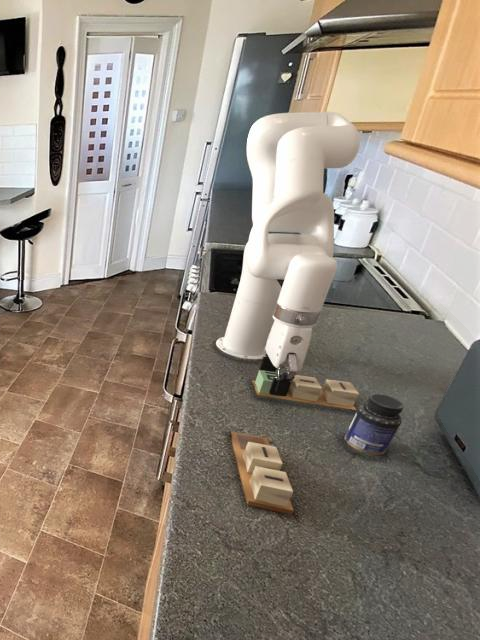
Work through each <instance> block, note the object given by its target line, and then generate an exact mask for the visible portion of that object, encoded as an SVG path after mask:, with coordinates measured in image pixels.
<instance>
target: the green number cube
mask: <svg viewBox="0 0 480 640" xmlns="http://www.w3.org/2000/svg"><path fill="white" fill-rule="evenodd" d="M281 374H283V372H281ZM273 378H276V372H270V371H263V370H259V369H258V373H257V376H256V378H255V383H256V386H257V389H258V391H259V393H264V394H269V390H270V387H271V384H272V381H273ZM270 395H271V394H270Z"/></svg>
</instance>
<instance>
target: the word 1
mask: <svg viewBox="0 0 480 640" xmlns="http://www.w3.org/2000/svg"><path fill="white" fill-rule="evenodd" d="M230 432H231V434H229V436H230V441H231V445H232V449H233V453H234V457H235V461H236V466H237V469H238V474H239V477H240V481H241V485H242V489H243V493H244V497H245V501H246V504H247V506H249V507H250V506H251V507H256V508H260V509H264V510H269V511H273V512H277V513H282V514H287V515H290V516H292V515H293V514H294V512H295V511H294V507H293V505H292V501H291V498H292V495H293V494H294V490H293V488H292V484H291V482H290V480H289V477H288V475H287V472H286V471H283V470H281V469H282V466H283V461H282V458H281V455H280V453H279V450H278V447H277V446H273V445H271V443H270V440H269V438H268V437H263V436H259V435H253V434H247V433H243V432H235V431H230Z"/></svg>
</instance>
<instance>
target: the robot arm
mask: <svg viewBox="0 0 480 640" xmlns="http://www.w3.org/2000/svg"><path fill="white" fill-rule="evenodd" d="M360 145H361V137H360V133H359V130H358V128H357V127H356V126H355V125H354V123H352V122H351V121H350V120H348V119H347V118H346V117H344V116H343V115H342V114H340V113H338V112H335V111H309V112H308V111H307V112H305V111H304V112H303V111H302V112H281V113H272V114H269V115H264V116H262V117H261V118H259V119H257V120H256V121H255V122H254V123H253V124H252V126H251V128H250V129H249V133H248V136H247V141H246V159H247V164H248V167H249V171H250V175H251V178H252V179H251V180H252V193H251V195H252V197H251V199H252V200H251V221H252V227H251V230H250V232H249V236H248V241H247V242H246V244H245V247H244V250H243V258H242V259H243V260H242V268H241V269H242V270H241V275H240V281H239V283H238V288H237V291H236V295H235V298H234V302H233V305H232V309H231V312H230V316H229V319H228V323H227V325H226V326H227V327H226V330H225V333H224V336H222V337H219V338H218V339H217V340H216V342H215V345H216V347H217V348H218V349H219V350H220V351H222V352H224V353H225V354H228V355H229V356H232V357H236V358H240V359H244V360H256V361H257V360H261V362H260V365H259V369H258V371H259V370H263V371H270V372H276V378H273V381H272V384H271V387H270V390H269V394H271V395H277V396H284V397H285V396H287V393H288V390H289V388H290V385H291V382H293V379H294V378H295V377H294V376H295V375H298V372H299V371H301V370H302V368H303V366H304V363H305V359H306V357H307V353H308V350H309V346H310V343H311V338H312V333H313V328H314V327H315V326H316V325H317V323H318V320H319V317H320V315H321V312H322V309H323V306H324V304H325V301H326V298H327V296H328V293H329V291H330V288H331V285H332V283H333V280H334V277H335V275H336V272H337V269H338V262H337V260H336V259H335V258H334V252H335V206H334V202H333V200H332V198H331V197H330V195H328V194H326V193H325V192H324V175H325V169H341V168H345V167H348V166H349V165H350V164H352V163H353V161H355V159H356V158H357V156H358V153H359V151H360ZM297 233H298V234H297ZM278 280H282V281H283V283H282V286H281V284H280V282H279V281H278ZM282 370H283V371H285V372H282ZM281 373H282V374H281Z"/></svg>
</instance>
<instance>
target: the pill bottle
mask: <svg viewBox="0 0 480 640" xmlns="http://www.w3.org/2000/svg"><path fill="white" fill-rule="evenodd" d="M404 407H405V405H404V403H403V402H402V401H401V400H399V399H397V398H395V397H394V396H391V395H388V394H387V395H386V394H382V393H373V394H371V395H369V397H368V399H367V401H366V403H364V404H362V405H360V406H359V407H358V408H357V409H356V412H355V414H354V417H353V419H352V420H351V422H350V425H349V426H348V429H347V431H346V433H345V435H344V440H345V443H346V444H348V445H349V446H350V447H351V448H353V449H354V450H357V451H359V452H362V453H364V454H368V455H373V456H381V455H383V454H385V453H386V452H387V450H388V448H389V446H390V445H391V443H392V441H393V439H394V437H395V435H396V433H397V431H398V430H399V428H400V426H401V425H402V422H403V420H402V417H401V415H400V414H401V413H402V412H403V410H404Z"/></svg>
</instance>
